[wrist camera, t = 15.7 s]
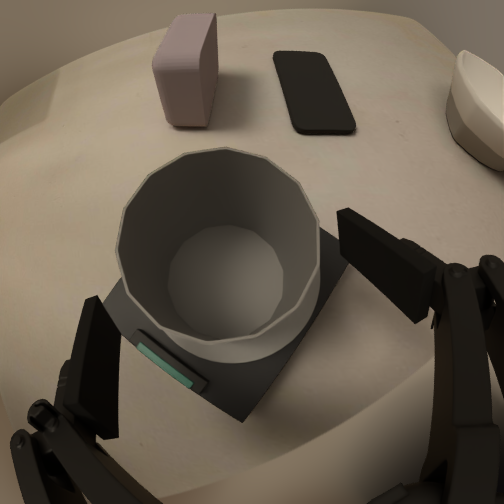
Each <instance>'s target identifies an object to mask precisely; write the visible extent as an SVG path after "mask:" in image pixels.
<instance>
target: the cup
mask: <svg viewBox="0 0 504 504" xmlns="http://www.w3.org/2000/svg"><path fill="white" fill-rule="evenodd" d="M115 253H116V257H117V261H118V265H119V269H120V272H121V276H122V279H123V283H124V286H125V290H126V293H127V295H128V296H129V297H130V298H131V299H132V300H133V302H134V303H135V304H136V305H137V306H138V307H139V308H140V309H141V310H142V311H143V312H144V313H145V314H146V316H147V317H148V318H149V319H150V320H151V321H152V322H153V323H154V324H155V325H156V326H157V327H158V328H159V329H161V330H164V331H167V332H170V333H173V334H175V335H178V336H181V337H184V338H187V339H190V340H193V341H196V342H199V343H202V344H205V345H210V344H217V343H224V342H231V341H237V340H244V339H250V338H256V337H258V336H260V335H261V334H263V333H264V332H266V331H267V330H268V329H270V328H271V327H273V326H274V325H275V324H277V323H278V322H280V321H281V320H282V319H284V318H285V317H286V316H288V315H289V314H291V313H292V312H293V311H295V310H296V309H297V308H298V307H299V305H300V304H301V302H302V300H303V298H304V296H305V294H306V292H307V290H308V288H309V286H310V284H311V282H312V280H313V278H314V276H315V274H316V272H317V270H318V268H319V266H320V232H319V219H318V217H317V215H316V213H315V211H314V209H313V207H312V205H311V203H310V201H309V199H308V198H307V196H306V194H305V192H304V190H303V188H302V186H301V184H300V183H299V182H298V181H297V180H296V179H294V178H293V177H292V176H291V175H289V174H288V173H287V172H285V171H284V170H283V169H282V168H280V167H279V166H278V165H276V164H275V163H274V162H272V161H271V160H270V159H268V158H267V157H264V156H260V155H257V154H253V153H249V152H245V151H241V150H237V149H233V148H229V147H221V148H214V149H206V150H200V151H193V152H187V153H183V154H182V155H180V156H178V157H176V158H175V159H173V160H171V161H170V162H168V163H166V164H164V165H163V166H161V167H159V168H158V169H156V170H154V171H153V172H151V173H150V174H148V175H147V177H146V178H145V179H144V181H143V182H142V183H141V185H140V186H139V187H138V189H137V190H136V191H135V193H134V194H133V196H132V197H131V198H130V200H129V201H128V203H127V204H126V205H125V207H124V208H123V213H122V217H121V222H120V227H119V232H118V237H117V242H116V247H115Z"/></svg>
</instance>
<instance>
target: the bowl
mask: <svg viewBox="0 0 504 504" xmlns="http://www.w3.org/2000/svg"><path fill="white" fill-rule="evenodd" d="M446 116H447V120H448V124H449V127H450V130H451V133H452V136H453V138H454V139H455V141H456V142H457V143H459V144H460V145H461V146H462V147H463V148H464V149H465V150H466V151H467V152H469V153H470V154H471V155H472V156H474V157H475V158H476V159H477V160H478V161H480V162H481V163H483V164H485V165H487V166H489V167H490V168H492V169H495V170H497V171H503V170H504V75H502V74H501V73H500V72H499V71H498V70H497V69H496V68H494V67H493V66H492V65H490V64H489V63H487V62H486V61H484V60H483V59H481V58H479V57H478V56H476V55H474V54H472V53H470V52H468V51H466V50H463V51H461V52H460V53H459V55H458V56H457V57H456V62H455V67H454V72H453V77H452V83H451V88H450V92H449V96H448V101H447V106H446Z"/></svg>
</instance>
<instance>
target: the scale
mask: <svg viewBox="0 0 504 504" xmlns="http://www.w3.org/2000/svg"><path fill="white" fill-rule="evenodd" d="M319 232H320V266H319V268H318V270H317V272H316V274H315V276H314V278H313V280H312V282H311V284H310V286H309V288H308V290H307V292H306V294H305V296H304V298H303V300H302V302H301V304H300V305H299V307H298V308H297V309H296V310H295V311H293V312H292V313H291V314H289V315H288V316H286V317H285V318H284V319H282V320H281V321H280V322H278V323H277V324H275V325H274V326H273V327H271V328H270V329H268V330H267V331H266V332H264V333H263V334H261V335H260V336H258V337H256V338H250V339H244V340H237V341H231V342H224V343H217V344H210V345H205V344H202V343H199V342H196V341H193V340H190V339H187V338H184V337H181V336H178V335H175V334H173V333H170V332H167V331H164V330H161V329H159V328H158V327H157V326H156V325H155V324H154V323H153V322H152V321H151V320H150V319H149V318H148V317H147V316H146V314H145V313H144V312H143V311H142V310H141V309H140V308H139V307H138V306H137V305H136V304H135V303H134V302H133V300H132V299H131V298H130V297H129V296H128V295H127V293H126V290H125V286H124V283H123V279H122V277H121V278H120V279H119V281H118V282H117V284H116V285H115V286H114V288H113V289H112V291H111V292H110V293H109V295H108V296H107V298H106V299H105V301H104V302H103V305H104V307H105V309H106V310H107V312H108V314H109V315H110V317H111V318H112V320H113V321H114V323H115V325H116V326H117V328H118V329H119V331H120V332H121V335H123V336H124V337H125V338H126V339H127V340H128V341H129V342H130V343H132V344H133V345H134V346H135V347H136V348H137V349H138V350H139V351H140V352H142V353H143V354H144V355H145V356H146V357H148V358H149V359H150V360H151V361H153V362H154V363H155V364H156V365H158V366H159V367H160V368H162V369H163V370H164V371H165V372H167V373H168V374H169V375H171V376H172V377H173V378H175V379H176V380H177V381H179V382H180V383H182V384H183V385H184V386H186V387H187V388H188V389H191V390H192V391H194V392H195V393H197V394H198V395H200V396H201V397H203V398H204V399H206V400H207V401H209V402H210V403H212V404H213V405H215V406H216V407H218V408H219V409H221V410H222V411H224V412H225V413H227V414H229V415H230V416H232V417H233V418H235V419H237V420H238V421H240V422H241V423H243V422H244V421H245V419H246V418H247V417H248V415H249V414H250V413H251V411H252V410H253V409H254V407H255V406H256V405H257V403H258V402H259V401H260V399H261V398H262V397H263V395H264V394H265V392H266V391H267V390H268V388H269V387H270V386H271V384H272V383H273V381H274V380H275V379H276V377H277V376H278V374H279V373H280V371H281V370H282V369H283V367H284V366H285V364H286V363H287V361H288V360H289V358H290V357H291V355H292V354H293V352H294V351H295V349H296V348H297V346H298V345H299V343H300V342H301V340H302V339H303V337H304V336H305V334H306V333H307V331H308V330H309V328H310V326H311V325H312V323H313V322H314V320H315V319H316V317H317V315H318V314H319V312H320V311H321V309H322V307H323V306H324V304H325V302H326V301H327V299H328V298H329V296H330V294H331V293H332V291H333V289H334V287H335V286H336V284H337V282H338V281H339V279H340V277H341V276H342V274H343V272H344V270H345V269H346V267H347V265H348V263H349V262H348V261H347V260H346V259H345V258H343V257H342V256H341V255H340V244H339V240H338V239H337V238H335V237H334V236H332V235H331V234H330V233H328V232H327V231H325V230H324V229H322V228H321V227H319Z"/></svg>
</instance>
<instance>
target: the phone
mask: <svg viewBox="0 0 504 504" xmlns="http://www.w3.org/2000/svg"><path fill="white" fill-rule="evenodd" d="M273 61H274V64H275V67H276V70H277V73H278V77H279V80H280V83H281V87H282V90H283V94H284V97H285V100H286V104H287V108H288V111H289V115H290V118H291V122H292V125H293V127H294V129H295V130H297V131H298V132H301V133H341V134H349V133H352V132H353V131H354V130H355V128H356V123H355V120H354V118H353V115H352V113H351V110H350V108H349V106H348V103H347V101H346V99H345V97H344V94H343V92H342V90H341V88H340V86H339V83H338V81H337V79H336V77H335V75H334V73H333V71H332V69H331V67H330V65H329V63H328V61H327V59H326V57H325V56H324V55H323V54H321V53H317V52H305V51H276V52H274V54H273Z"/></svg>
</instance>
